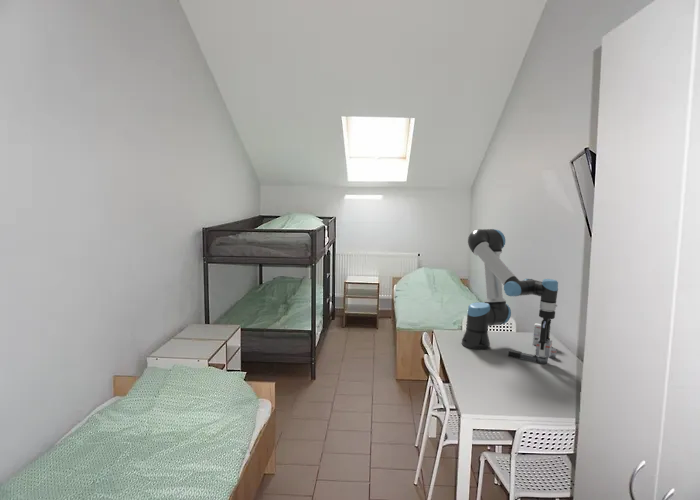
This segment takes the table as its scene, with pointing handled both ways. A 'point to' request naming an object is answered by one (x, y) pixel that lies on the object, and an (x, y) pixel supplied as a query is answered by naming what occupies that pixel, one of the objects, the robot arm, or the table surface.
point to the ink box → (537, 333)
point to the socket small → (553, 353)
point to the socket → (547, 348)
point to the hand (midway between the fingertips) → (542, 353)
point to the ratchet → (528, 357)
